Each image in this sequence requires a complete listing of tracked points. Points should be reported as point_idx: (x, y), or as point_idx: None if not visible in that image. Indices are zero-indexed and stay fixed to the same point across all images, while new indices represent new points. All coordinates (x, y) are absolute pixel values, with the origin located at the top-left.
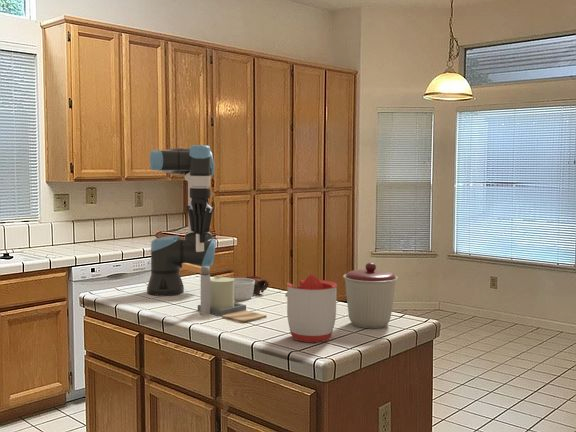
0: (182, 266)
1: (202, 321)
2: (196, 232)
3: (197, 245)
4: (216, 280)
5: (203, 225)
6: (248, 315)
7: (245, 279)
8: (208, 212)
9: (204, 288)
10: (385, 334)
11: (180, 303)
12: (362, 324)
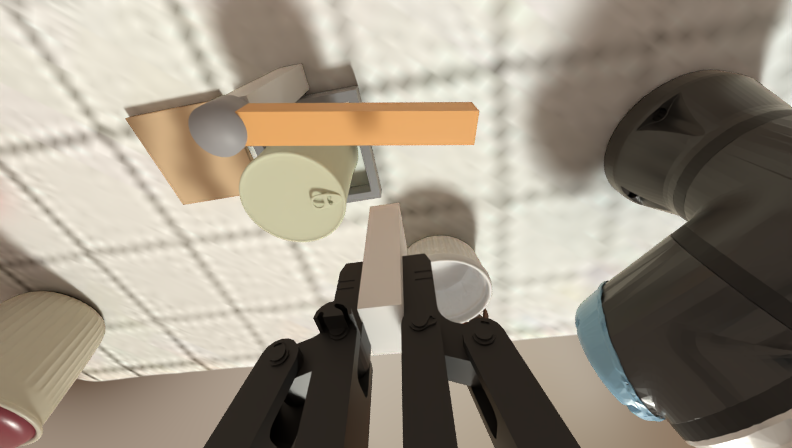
0: (467, 105)
1: (191, 5)
2: (402, 323)
3: (379, 232)
4: (287, 175)
5: (243, 435)
6: (194, 166)
7: (458, 320)
8: None
9: (244, 86)
10: None
11: (492, 94)
12: (17, 295)
